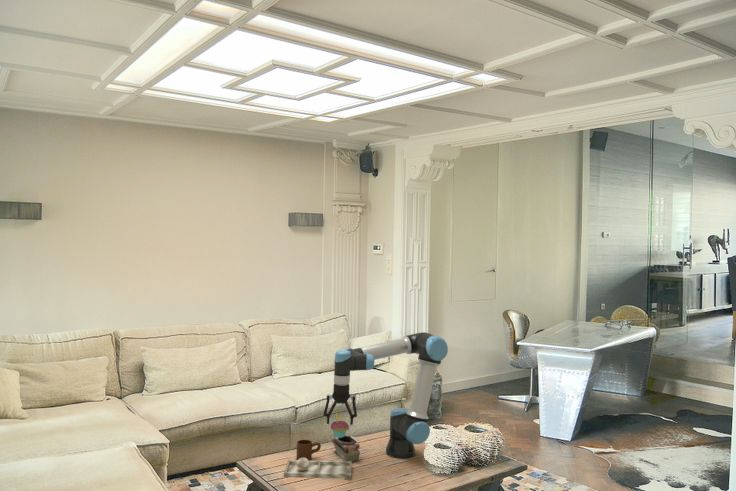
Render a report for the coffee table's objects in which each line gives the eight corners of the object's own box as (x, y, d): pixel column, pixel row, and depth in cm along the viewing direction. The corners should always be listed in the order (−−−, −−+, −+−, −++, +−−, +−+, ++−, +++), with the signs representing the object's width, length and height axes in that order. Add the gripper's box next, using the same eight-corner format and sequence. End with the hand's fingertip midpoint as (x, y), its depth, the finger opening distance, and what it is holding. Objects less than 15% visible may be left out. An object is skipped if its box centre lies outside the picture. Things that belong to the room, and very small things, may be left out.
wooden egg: (309, 468, 293) (309, 455, 293) (308, 473, 287) (308, 460, 287) (297, 467, 293) (297, 455, 293) (295, 472, 287) (296, 460, 287)
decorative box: (335, 465, 300) (335, 445, 300) (324, 451, 319) (325, 432, 319) (360, 462, 305) (361, 443, 304) (349, 448, 324) (349, 430, 323)
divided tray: (351, 466, 298) (351, 461, 298) (350, 479, 283) (351, 474, 282) (287, 465, 298) (287, 460, 298) (283, 478, 282) (283, 473, 282)
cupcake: (335, 439, 284) (335, 414, 284) (327, 434, 292) (328, 409, 291) (351, 437, 288) (352, 412, 288) (343, 432, 296) (344, 407, 296)
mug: (319, 457, 310) (320, 439, 310) (321, 463, 302) (321, 444, 302) (296, 458, 308) (296, 439, 308) (296, 463, 300) (297, 444, 300)
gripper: (363, 382, 294) (361, 429, 294) (319, 380, 293) (317, 427, 293) (364, 386, 286) (362, 434, 287) (318, 384, 286) (316, 432, 286)
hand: (339, 431), depth 290 cm, fingers closed on cupcake, 8 cm apart
